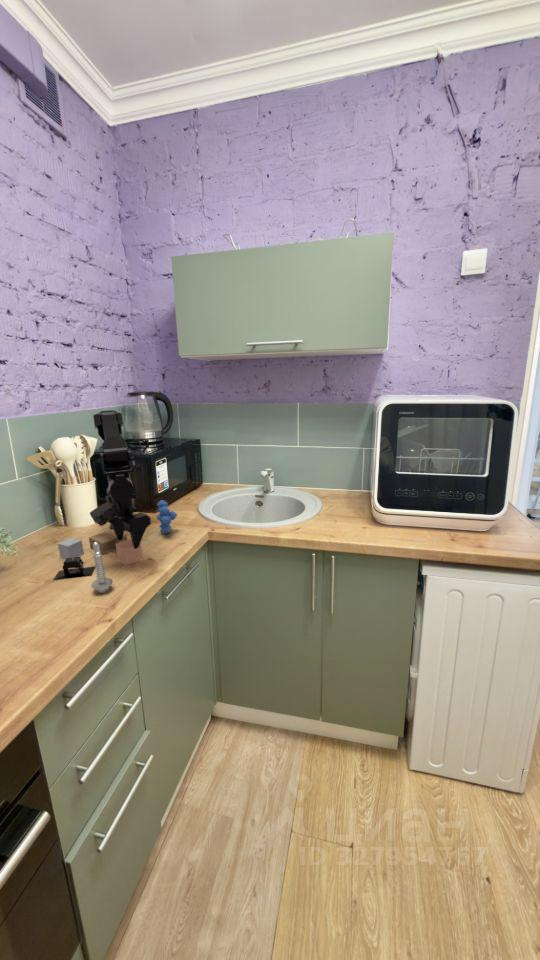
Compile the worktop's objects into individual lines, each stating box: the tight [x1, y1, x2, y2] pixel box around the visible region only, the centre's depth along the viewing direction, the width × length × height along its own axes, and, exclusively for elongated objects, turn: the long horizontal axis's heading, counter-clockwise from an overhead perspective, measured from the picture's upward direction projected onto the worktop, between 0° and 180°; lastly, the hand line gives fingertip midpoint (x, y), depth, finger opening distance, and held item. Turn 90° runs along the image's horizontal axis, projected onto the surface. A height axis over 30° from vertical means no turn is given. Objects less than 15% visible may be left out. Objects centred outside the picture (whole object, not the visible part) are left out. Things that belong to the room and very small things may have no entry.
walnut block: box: [88, 529, 128, 556], centre depth 122 cm, size 8×8×4 cm
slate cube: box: [57, 537, 84, 560], centre depth 117 cm, size 4×4×4 cm
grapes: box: [156, 499, 178, 535], centre depth 130 cm, size 12×7×12 cm, turn 21°
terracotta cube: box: [116, 538, 144, 566], centre depth 113 cm, size 5×5×5 cm
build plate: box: [52, 556, 96, 581], centre depth 106 cm, size 12×7×5 cm, turn 101°
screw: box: [91, 542, 114, 594], centre depth 96 cm, size 13×5×5 cm
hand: (128, 544), depth 113 cm, fingers open, 9 cm apart
